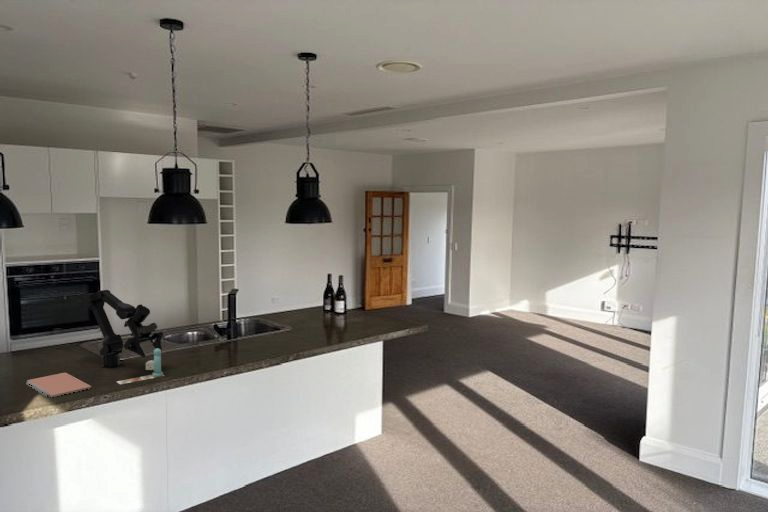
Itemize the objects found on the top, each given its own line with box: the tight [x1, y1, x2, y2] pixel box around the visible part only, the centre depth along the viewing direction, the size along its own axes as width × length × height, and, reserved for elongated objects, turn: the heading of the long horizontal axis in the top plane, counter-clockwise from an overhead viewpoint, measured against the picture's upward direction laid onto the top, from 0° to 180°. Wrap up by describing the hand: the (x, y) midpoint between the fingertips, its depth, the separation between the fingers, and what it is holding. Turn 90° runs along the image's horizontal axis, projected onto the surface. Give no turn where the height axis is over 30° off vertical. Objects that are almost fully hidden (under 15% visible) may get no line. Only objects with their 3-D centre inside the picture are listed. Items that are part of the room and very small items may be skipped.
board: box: [116, 374, 165, 385], centre depth 247 cm, size 21×6×2 cm, turn 135°
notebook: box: [26, 372, 92, 399], centre depth 237 cm, size 27×17×2 cm, turn 52°
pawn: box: [151, 348, 164, 378], centre depth 252 cm, size 4×4×13 cm
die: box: [145, 359, 154, 371], centre depth 262 cm, size 5×5×5 cm
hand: (153, 354), depth 253 cm, fingers open, 9 cm apart
